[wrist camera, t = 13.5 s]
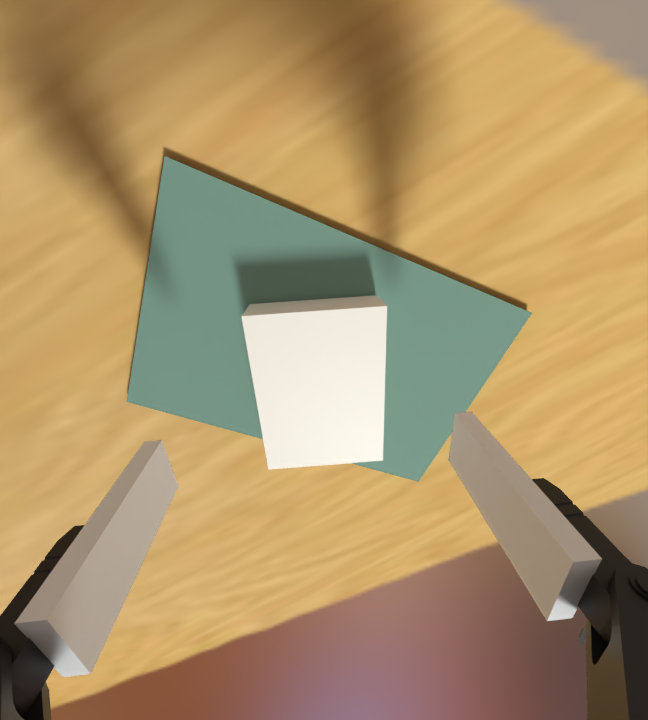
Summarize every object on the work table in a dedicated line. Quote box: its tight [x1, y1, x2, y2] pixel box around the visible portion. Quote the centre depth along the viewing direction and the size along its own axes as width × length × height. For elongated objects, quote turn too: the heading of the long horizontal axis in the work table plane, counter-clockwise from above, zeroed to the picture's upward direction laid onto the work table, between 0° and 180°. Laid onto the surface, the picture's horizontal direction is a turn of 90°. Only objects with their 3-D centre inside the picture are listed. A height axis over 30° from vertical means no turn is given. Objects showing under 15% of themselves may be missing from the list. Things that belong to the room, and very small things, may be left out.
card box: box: [241, 295, 387, 469], centre depth 20 cm, size 8×3×11 cm
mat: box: [127, 156, 532, 481], centre depth 21 cm, size 24×16×1 cm, turn 69°
